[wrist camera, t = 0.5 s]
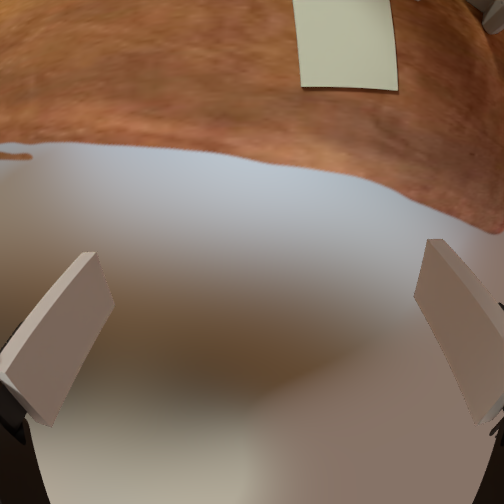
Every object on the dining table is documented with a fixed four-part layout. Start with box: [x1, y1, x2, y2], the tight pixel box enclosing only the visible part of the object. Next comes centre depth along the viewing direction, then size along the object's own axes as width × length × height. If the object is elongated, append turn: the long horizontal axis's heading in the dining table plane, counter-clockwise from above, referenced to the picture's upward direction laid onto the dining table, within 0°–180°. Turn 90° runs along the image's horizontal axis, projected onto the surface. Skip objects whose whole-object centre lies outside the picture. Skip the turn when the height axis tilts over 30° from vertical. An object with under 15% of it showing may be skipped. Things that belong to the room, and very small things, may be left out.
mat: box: [293, 0, 398, 91], centre depth 26 cm, size 19×12×1 cm, turn 5°
